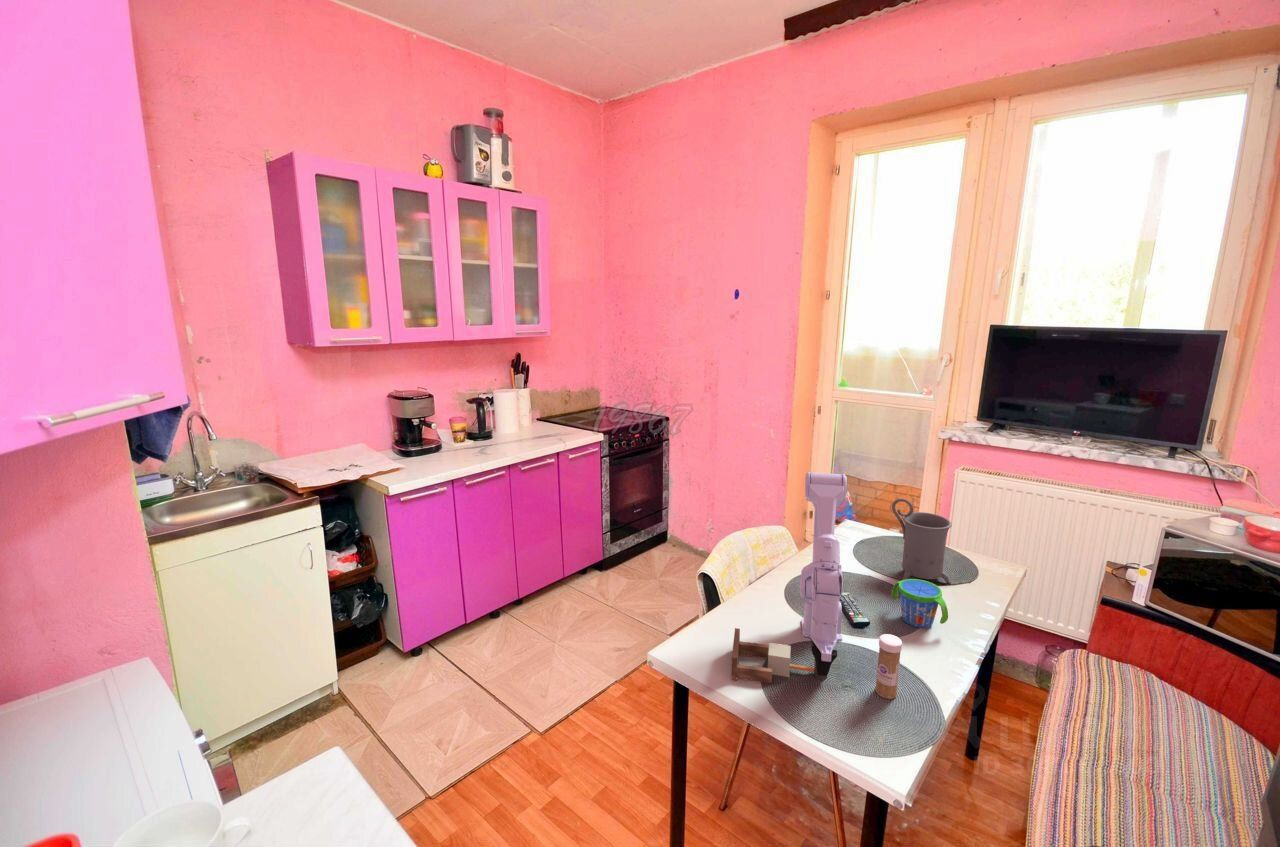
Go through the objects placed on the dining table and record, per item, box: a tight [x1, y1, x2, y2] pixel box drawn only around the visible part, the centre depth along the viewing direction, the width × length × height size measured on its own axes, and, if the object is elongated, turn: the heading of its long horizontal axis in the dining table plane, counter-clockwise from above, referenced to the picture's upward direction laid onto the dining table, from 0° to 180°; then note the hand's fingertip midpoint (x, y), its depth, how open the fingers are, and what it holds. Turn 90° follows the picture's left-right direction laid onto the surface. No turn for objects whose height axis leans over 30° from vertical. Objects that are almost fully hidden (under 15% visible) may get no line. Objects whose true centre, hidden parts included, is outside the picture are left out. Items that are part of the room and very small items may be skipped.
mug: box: [891, 498, 953, 585], centre depth 170 cm, size 19×15×25 cm
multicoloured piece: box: [767, 642, 828, 681], centre depth 128 cm, size 14×5×6 cm, turn 74°
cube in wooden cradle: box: [730, 627, 773, 684], centre depth 130 cm, size 9×12×6 cm
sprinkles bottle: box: [874, 633, 903, 700], centre depth 119 cm, size 5×5×13 cm
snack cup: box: [891, 578, 949, 628], centre depth 147 cm, size 16×10×10 cm
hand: (821, 669), depth 126 cm, fingers closed on multicoloured piece, 3 cm apart
